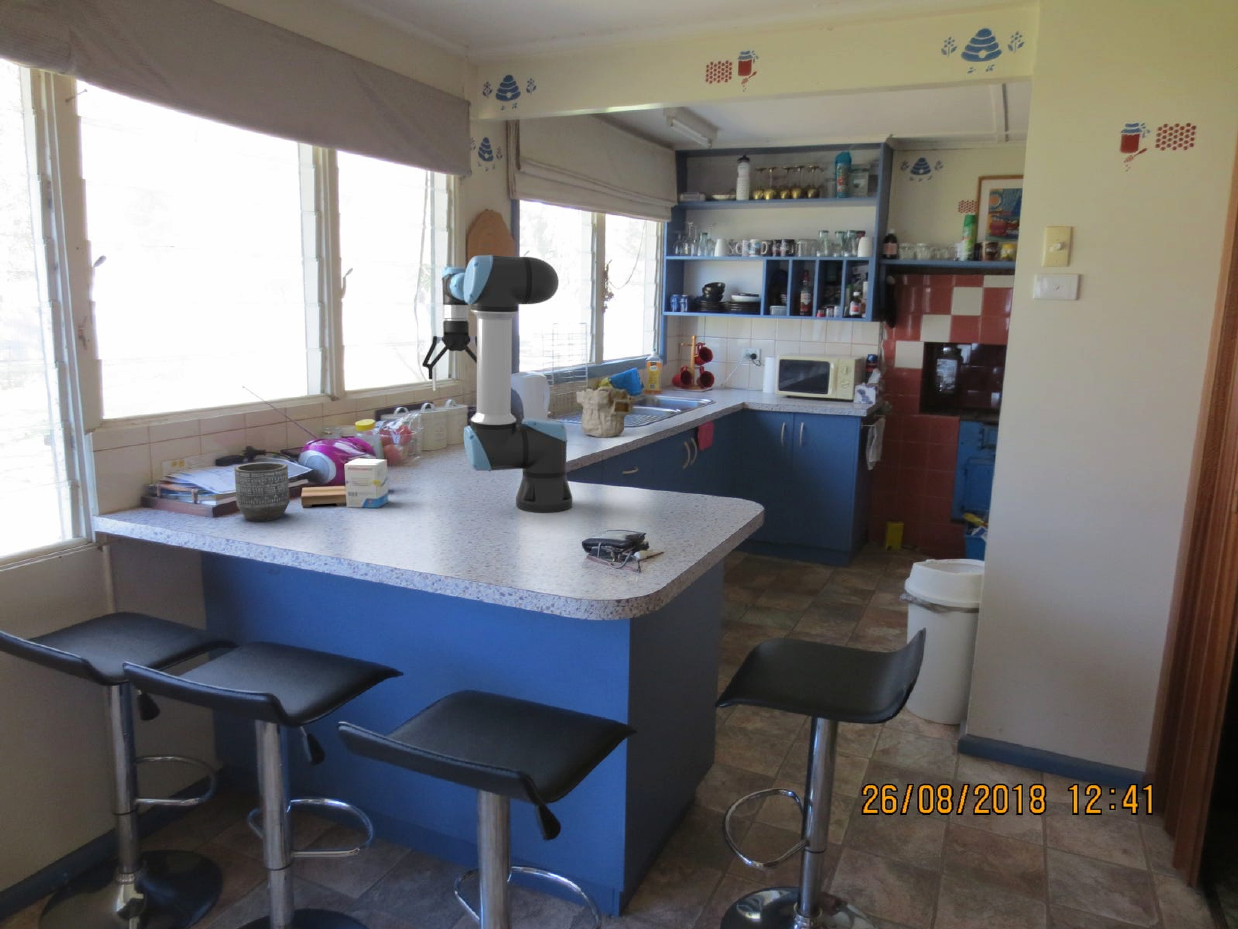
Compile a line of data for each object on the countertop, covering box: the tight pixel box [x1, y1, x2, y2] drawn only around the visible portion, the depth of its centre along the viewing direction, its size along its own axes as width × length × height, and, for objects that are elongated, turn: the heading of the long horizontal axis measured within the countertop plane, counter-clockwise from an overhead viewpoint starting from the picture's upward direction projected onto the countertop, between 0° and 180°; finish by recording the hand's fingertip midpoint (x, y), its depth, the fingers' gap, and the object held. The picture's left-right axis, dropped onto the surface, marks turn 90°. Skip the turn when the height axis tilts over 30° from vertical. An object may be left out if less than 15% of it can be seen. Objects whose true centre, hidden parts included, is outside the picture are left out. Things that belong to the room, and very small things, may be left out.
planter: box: [234, 461, 290, 522], centre depth 213 cm, size 12×12×13 cm
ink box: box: [344, 458, 389, 509], centre depth 228 cm, size 9×8×12 cm
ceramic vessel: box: [576, 385, 636, 439], centre depth 353 cm, size 23×24×25 cm
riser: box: [300, 485, 347, 508], centre depth 230 cm, size 11×11×3 cm
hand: (457, 390), depth 262 cm, fingers open, 13 cm apart
